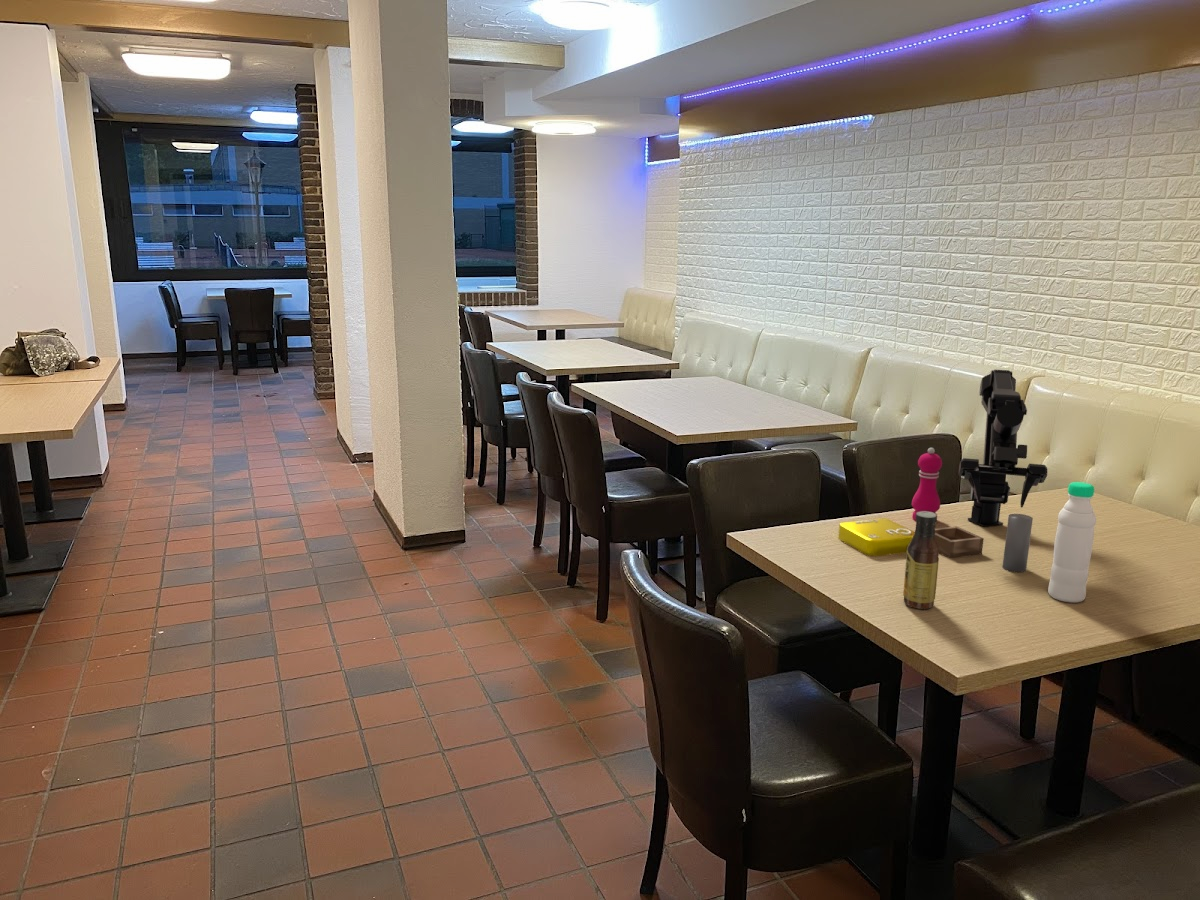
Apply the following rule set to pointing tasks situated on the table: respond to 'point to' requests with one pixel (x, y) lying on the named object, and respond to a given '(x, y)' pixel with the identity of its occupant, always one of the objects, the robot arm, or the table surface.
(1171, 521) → the table surface
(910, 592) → the sauce bottle
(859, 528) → the element tile
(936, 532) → the walnut socket
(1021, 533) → the charcoal canister
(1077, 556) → the water bottle
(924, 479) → the pepper mill
